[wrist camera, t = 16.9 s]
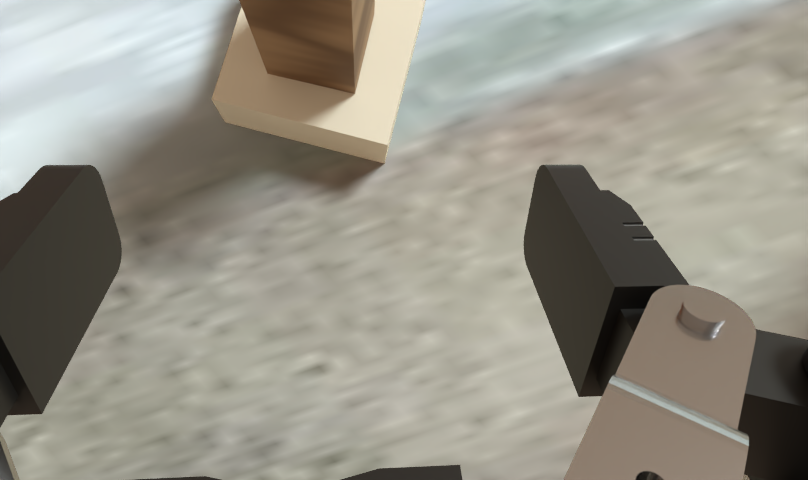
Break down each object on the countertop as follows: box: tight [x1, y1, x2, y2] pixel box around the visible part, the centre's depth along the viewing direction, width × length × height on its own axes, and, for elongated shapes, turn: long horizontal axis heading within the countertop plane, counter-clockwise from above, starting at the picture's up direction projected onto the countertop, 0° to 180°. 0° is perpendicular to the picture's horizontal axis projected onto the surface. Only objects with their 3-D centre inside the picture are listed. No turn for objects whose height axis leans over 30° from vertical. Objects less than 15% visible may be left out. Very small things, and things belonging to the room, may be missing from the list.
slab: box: [211, 0, 426, 164], centre depth 31 cm, size 9×9×4 cm
